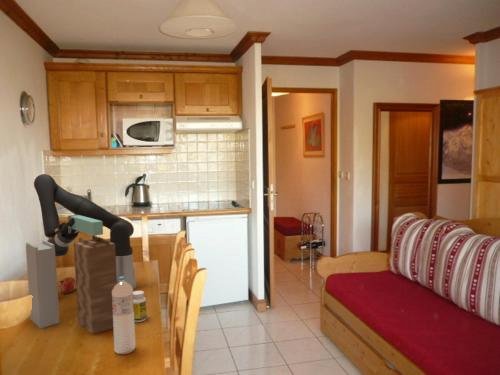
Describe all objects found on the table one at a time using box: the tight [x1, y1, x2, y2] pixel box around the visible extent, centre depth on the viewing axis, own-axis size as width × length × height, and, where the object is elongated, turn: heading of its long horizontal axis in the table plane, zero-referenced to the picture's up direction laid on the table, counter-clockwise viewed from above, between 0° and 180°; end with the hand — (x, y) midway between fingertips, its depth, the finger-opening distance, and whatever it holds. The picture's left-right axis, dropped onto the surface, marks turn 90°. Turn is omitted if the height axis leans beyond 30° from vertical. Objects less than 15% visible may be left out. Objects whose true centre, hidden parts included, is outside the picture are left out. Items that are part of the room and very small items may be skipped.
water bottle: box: [111, 276, 136, 355], centre depth 137 cm, size 7×7×25 cm
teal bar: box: [67, 214, 104, 237], centre depth 161 cm, size 24×4×5 cm, turn 44°
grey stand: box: [25, 239, 60, 329], centre depth 162 cm, size 12×7×31 cm, turn 44°
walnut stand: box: [73, 235, 117, 335], centre depth 157 cm, size 14×10×34 cm
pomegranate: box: [58, 276, 76, 294], centre depth 197 cm, size 7×7×10 cm
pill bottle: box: [133, 290, 148, 323], centre depth 162 cm, size 6×6×11 cm
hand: (78, 219), depth 165 cm, fingers closed on teal bar, 3 cm apart
